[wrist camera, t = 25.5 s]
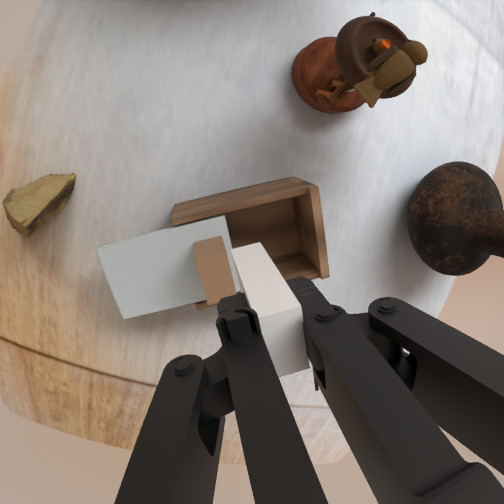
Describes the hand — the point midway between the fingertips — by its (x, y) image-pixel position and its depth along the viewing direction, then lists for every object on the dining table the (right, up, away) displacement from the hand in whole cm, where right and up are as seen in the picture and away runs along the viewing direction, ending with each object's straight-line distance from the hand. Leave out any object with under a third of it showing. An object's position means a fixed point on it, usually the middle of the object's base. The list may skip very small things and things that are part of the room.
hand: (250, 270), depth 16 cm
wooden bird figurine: (+11, +25, +22) cm, 35 cm away
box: (-1, +4, +27) cm, 27 cm away
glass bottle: (+31, +8, +32) cm, 45 cm away
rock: (-29, +9, +20) cm, 36 cm away
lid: (-9, -1, +19) cm, 21 cm away
